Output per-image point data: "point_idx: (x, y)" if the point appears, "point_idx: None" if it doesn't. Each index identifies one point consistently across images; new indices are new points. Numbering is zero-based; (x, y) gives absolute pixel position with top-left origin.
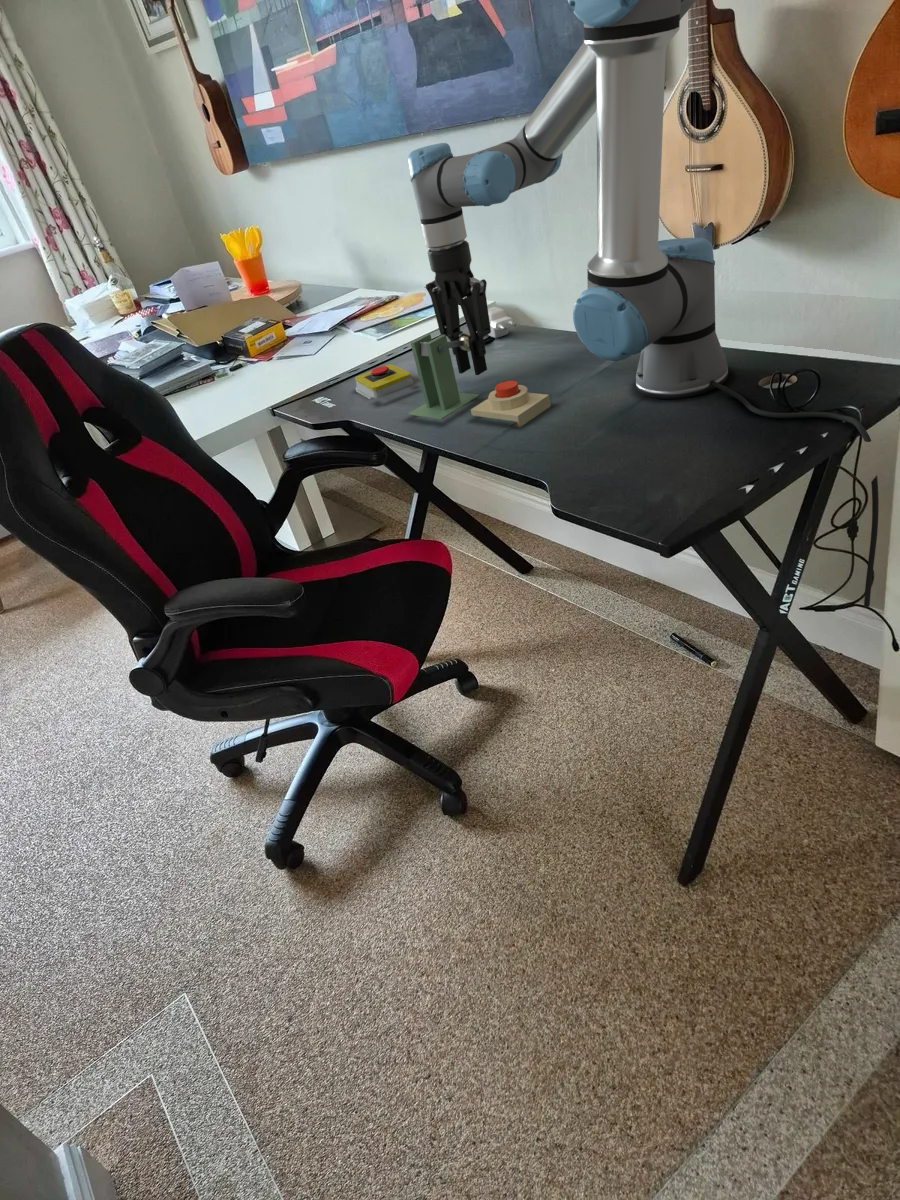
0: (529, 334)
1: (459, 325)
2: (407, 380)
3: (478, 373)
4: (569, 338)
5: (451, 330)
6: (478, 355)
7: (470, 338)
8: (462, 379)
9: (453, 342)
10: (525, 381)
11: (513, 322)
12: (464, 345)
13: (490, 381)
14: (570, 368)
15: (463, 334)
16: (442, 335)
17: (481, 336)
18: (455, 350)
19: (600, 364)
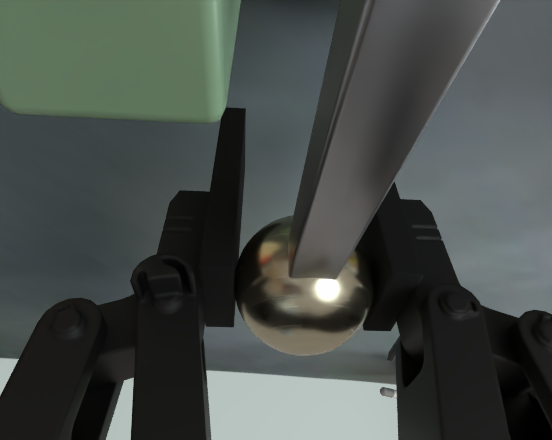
0: (360, 368)
1: (398, 405)
2: None
3: (222, 115)
4: (241, 361)
5: (434, 359)
6: (196, 196)
7: (245, 300)
8: (430, 171)
9: (305, 210)
10: (136, 185)
11: (390, 396)
12: (283, 239)
13: (286, 170)
14: (75, 265)
15: (311, 329)
16: (85, 29)
17: (55, 310)
18: (391, 213)
19: (14, 287)
